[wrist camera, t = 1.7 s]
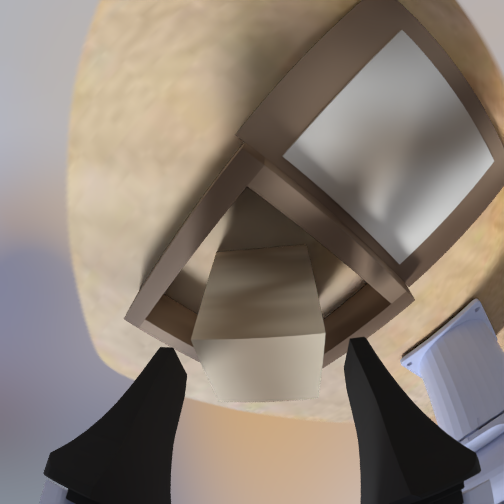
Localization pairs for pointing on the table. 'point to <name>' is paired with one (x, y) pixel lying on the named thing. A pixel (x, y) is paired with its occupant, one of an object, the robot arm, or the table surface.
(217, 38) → the table surface
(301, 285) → the block
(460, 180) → the brown divided tray
